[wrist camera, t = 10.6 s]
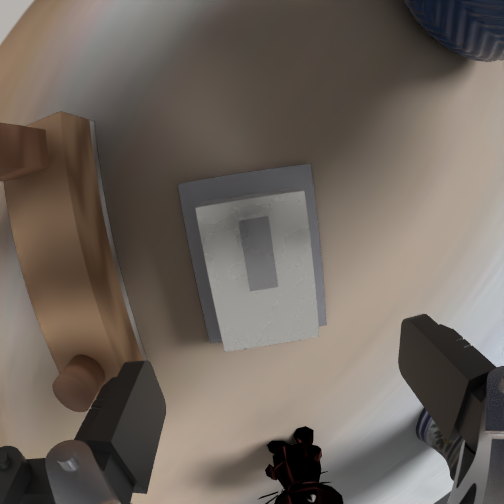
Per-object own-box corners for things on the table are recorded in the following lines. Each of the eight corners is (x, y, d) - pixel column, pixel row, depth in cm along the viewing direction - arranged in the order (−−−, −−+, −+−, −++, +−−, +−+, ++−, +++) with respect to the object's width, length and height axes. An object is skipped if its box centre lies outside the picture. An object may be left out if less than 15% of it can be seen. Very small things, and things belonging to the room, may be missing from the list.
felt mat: (179, 183, 21) (177, 184, 20) (308, 163, 21) (310, 163, 21) (210, 339, 24) (210, 343, 23) (324, 321, 24) (326, 324, 23)
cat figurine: (308, 411, 26) (338, 516, 15) (339, 443, 28) (369, 533, 16) (246, 442, 27) (251, 544, 15) (282, 470, 29) (295, 559, 17)
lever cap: (203, 201, 21) (193, 209, 16) (292, 187, 21) (306, 191, 16) (226, 323, 23) (224, 356, 19) (307, 310, 23) (321, 340, 19)
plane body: (37, 142, 20) (-63, 136, 9) (94, 121, 20) (-2, 94, 9) (95, 368, 24) (43, 452, 14) (149, 366, 24) (111, 463, 14)
